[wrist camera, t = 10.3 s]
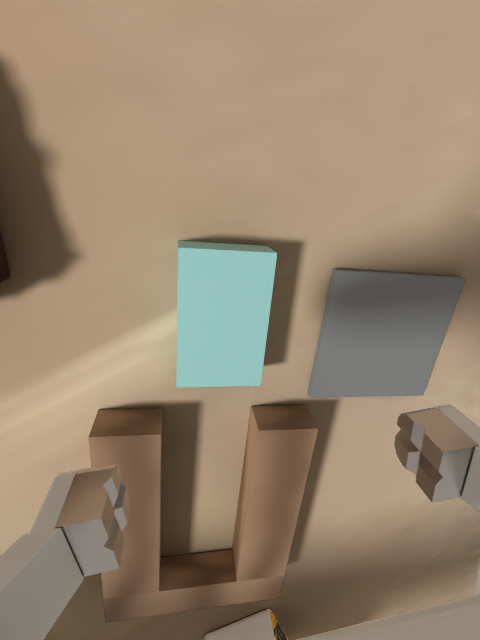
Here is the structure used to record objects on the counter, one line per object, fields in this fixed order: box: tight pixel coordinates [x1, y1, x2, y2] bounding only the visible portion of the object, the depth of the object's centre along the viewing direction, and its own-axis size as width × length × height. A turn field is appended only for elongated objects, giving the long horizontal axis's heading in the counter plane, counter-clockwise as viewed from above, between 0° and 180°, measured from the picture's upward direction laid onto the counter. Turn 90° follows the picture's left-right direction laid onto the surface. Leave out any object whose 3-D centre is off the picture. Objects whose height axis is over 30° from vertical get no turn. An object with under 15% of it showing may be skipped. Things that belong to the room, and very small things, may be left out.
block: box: [176, 241, 277, 387], centre depth 19 cm, size 5×8×2 cm, turn 175°
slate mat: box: [308, 269, 465, 397], centre depth 22 cm, size 9×9×1 cm
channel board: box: [89, 405, 319, 623], centre depth 24 cm, size 14×18×2 cm
